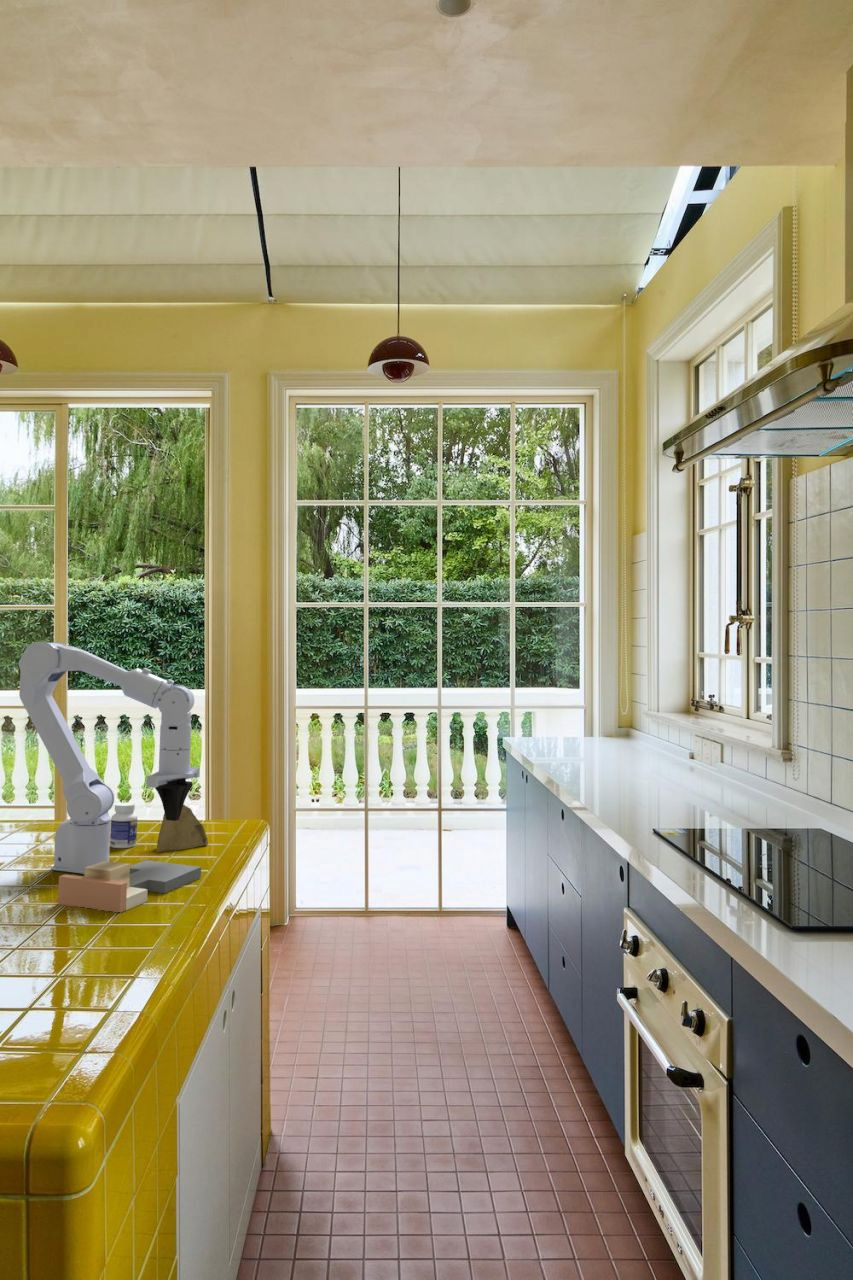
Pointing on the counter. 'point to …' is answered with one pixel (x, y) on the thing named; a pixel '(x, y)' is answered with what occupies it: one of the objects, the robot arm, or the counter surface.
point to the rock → (181, 832)
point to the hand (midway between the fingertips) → (172, 819)
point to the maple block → (109, 871)
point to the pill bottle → (123, 826)
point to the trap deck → (125, 886)
